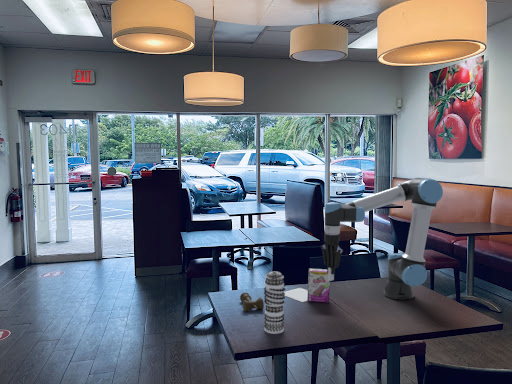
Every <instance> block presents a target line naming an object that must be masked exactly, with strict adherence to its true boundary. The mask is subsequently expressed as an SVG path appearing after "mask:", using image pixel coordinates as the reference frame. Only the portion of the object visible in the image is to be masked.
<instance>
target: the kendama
mask: <svg viewBox="0 0 512 384" xmlns="http://www.w3.org/2000/svg"><path fill="white" fill-rule="evenodd" d="M239 296H240V297H239V299H240V301H241V303H242V308H243V312H245V313H247V312H249V311H250V310H254V309H255V310H261V311H263V310H264V307H265V302H264V299H263V298H262V297H258V299H256V300H253V301H252V297H251V296H250V294H249V293H248V292H243V293H241V294H240V295H239Z"/></svg>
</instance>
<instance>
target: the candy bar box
mask: <svg viewBox="0 0 512 384" xmlns="http://www.w3.org/2000/svg"><path fill="white" fill-rule="evenodd" d="M307 280H308V281H307V283H308V284H307V290H308V296H307V299H308V301H307V302H313V303H330V302H329V301H330V289H331V287H330V285H331V281H328V273H327V269H326V268H325V269H322V268H308V279H307Z"/></svg>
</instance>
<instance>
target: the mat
mask: <svg viewBox="0 0 512 384" xmlns="http://www.w3.org/2000/svg"><path fill="white" fill-rule="evenodd" d="M283 292H284V293H285V295H283V296H284V297H285V298H286V297H287V298H289V299H292V300H295V301H297V302H300V303H306V302H309V301H308V299H307V296H308V289H304V288H302V287H297V288H294V289H290V290H285V291H283Z"/></svg>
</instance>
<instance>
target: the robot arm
mask: <svg viewBox="0 0 512 384" xmlns="http://www.w3.org/2000/svg"><path fill="white" fill-rule="evenodd" d="M443 195H444V189H443V187H442V184H441V183H440V182H439V181H437V180H435V179H432V178H425V177H424V178H423V177H415V178H411V179H409V180H406V181H403V182H400V183H398V184H396V185H395V186H394V187H392V188H389V189H386V190H383V191H379V192H377V193H373V194H370V195H368V196H364V197H361V198H358V199H356V200H352V201H349V202H347V203H341V202H327V203H325V205H324V206H325V207H324V235H323V236H324V239H323V241H324V243H323V245H320V249H321V253H322V259H323V264H324V266H326V268H327V269H326V270H327V273H328V281H330V282H332V281H334V280H335V274H336V268H339V266H340V263H341V262H340V261H341V258H342V253H343V252H344V249H343V248H341V247H340V239H341V238H340V233H341V223H362V222H364V221H365V218H366V213H367V212H370V211H373V210H375V209H380V208H382V207H386V206H388V205H391V204H394V203H398V202H400V201H401V202H407V201H410V200H411V204H410V205H412V206H413V208H412V215H411V219H410V226H409V230H408V236H407V243H406V246H405V247H406V248H405V252H404V253H398V252H397V253H395V252H394V253H390V254H389V255H388V258H387V282H386V284H385V287H384V289H383V295H384V297H386V296H387V298H389V299H393V300H397V299H399V300H398V301H407V300H406V299H409V300H412V299H413V298H414V291H413V287H419V286H421V285H422V284H424V283H425V282H426V280H427V278H428V272H427V269H426V262H427V261H426V259H425V258H424V253H425V248H426V245H427V244H426V243H427V237H428V231H429V227H430V222H431V217H432V213H433V212H432V211H433V210H434V209H435V208H436V207H437V204H438V202H439V201H440V200H441V199H442V197H443ZM411 298H412V299H411Z"/></svg>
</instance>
